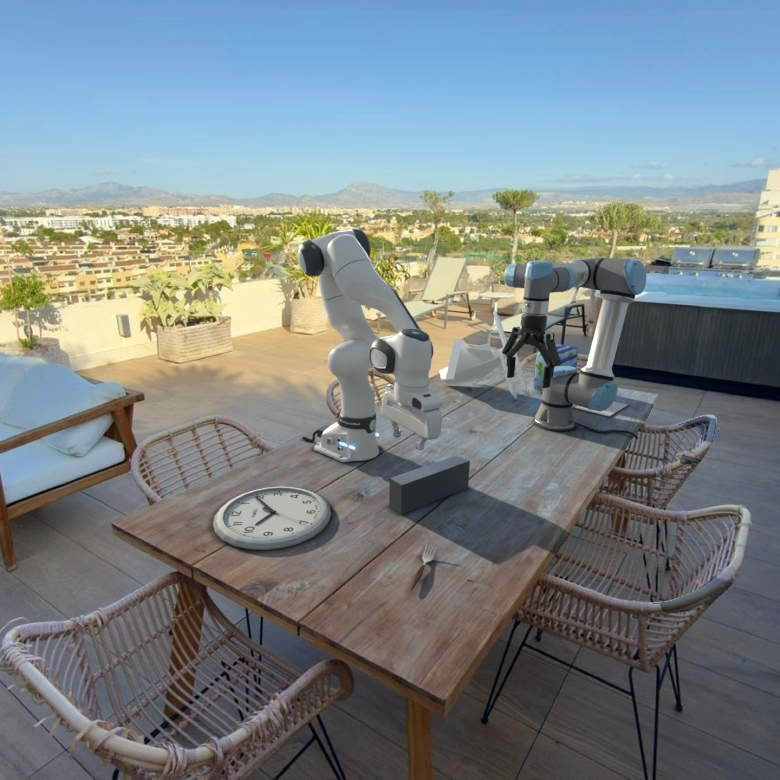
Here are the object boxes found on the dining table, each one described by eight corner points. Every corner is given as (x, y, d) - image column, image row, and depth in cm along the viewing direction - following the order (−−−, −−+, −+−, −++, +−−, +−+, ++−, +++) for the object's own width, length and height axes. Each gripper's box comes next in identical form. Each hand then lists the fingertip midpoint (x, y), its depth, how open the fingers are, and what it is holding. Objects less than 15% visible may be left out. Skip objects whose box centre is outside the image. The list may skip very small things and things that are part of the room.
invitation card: (608, 416, 214) (573, 407, 224) (608, 416, 214) (573, 408, 224) (628, 404, 229) (594, 396, 238) (628, 405, 229) (594, 397, 238)
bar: (455, 481, 158) (457, 454, 155) (468, 487, 154) (470, 460, 151) (389, 507, 142) (389, 478, 140) (400, 514, 139) (401, 485, 136)
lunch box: (550, 397, 237) (555, 352, 231) (529, 391, 245) (533, 348, 238) (577, 386, 255) (582, 344, 249) (556, 381, 262) (561, 340, 256)
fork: (405, 590, 110) (405, 582, 109) (426, 549, 124) (426, 541, 123) (417, 593, 109) (417, 585, 108) (437, 551, 123) (437, 544, 122)
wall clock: (329, 541, 123) (198, 546, 121) (329, 547, 124) (199, 552, 121) (332, 482, 152) (226, 484, 149) (332, 487, 152) (226, 489, 150)
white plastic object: (461, 429, 252) (437, 405, 227) (444, 352, 274) (420, 323, 250) (535, 404, 240) (518, 377, 215) (510, 326, 262) (492, 293, 237)
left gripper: (376, 383, 139) (374, 431, 143) (428, 407, 124) (424, 459, 128) (395, 380, 143) (392, 427, 147) (447, 402, 128) (442, 454, 132)
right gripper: (494, 309, 164) (489, 375, 170) (563, 321, 145) (554, 394, 151) (509, 307, 168) (504, 371, 174) (578, 319, 149) (569, 389, 156)
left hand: (407, 442), depth 138 cm, fingers open, 8 cm apart
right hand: (527, 382), depth 163 cm, fingers open, 13 cm apart
